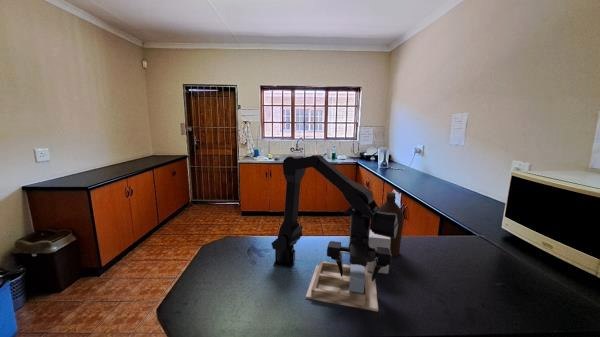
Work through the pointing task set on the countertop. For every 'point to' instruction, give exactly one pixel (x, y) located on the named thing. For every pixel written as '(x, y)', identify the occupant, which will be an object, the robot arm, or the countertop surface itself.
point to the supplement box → (374, 243)
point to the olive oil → (394, 208)
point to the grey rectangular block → (357, 279)
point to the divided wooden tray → (341, 287)
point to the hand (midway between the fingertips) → (356, 278)
